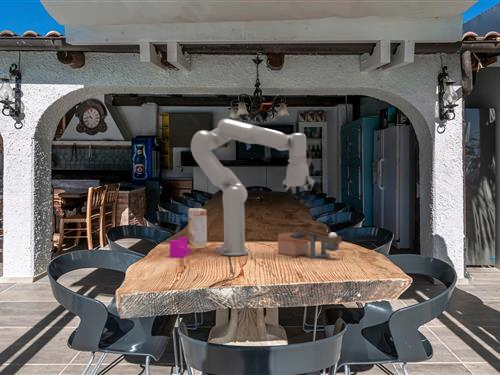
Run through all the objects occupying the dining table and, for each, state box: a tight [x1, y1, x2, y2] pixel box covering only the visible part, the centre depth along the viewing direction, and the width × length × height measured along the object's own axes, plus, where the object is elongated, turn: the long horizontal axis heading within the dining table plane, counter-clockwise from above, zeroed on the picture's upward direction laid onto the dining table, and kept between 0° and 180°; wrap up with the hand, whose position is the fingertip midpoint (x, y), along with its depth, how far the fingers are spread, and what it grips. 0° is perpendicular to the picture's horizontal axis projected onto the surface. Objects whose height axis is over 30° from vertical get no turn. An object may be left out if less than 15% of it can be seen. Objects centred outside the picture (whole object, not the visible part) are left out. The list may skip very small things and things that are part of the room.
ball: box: [328, 231, 338, 238], centre depth 201 cm, size 4×4×4 cm
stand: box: [305, 236, 331, 260], centre depth 206 cm, size 10×5×10 cm, turn 134°
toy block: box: [169, 236, 191, 259], centre depth 215 cm, size 15×6×8 cm, turn 172°
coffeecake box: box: [187, 207, 208, 247], centre depth 244 cm, size 15×7×20 cm, turn 17°
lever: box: [290, 227, 342, 252], centre depth 204 cm, size 13×20×6 cm, turn 44°
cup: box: [277, 232, 310, 257], centre depth 217 cm, size 10×10×9 cm
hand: (298, 199), depth 211 cm, fingers open, 9 cm apart
